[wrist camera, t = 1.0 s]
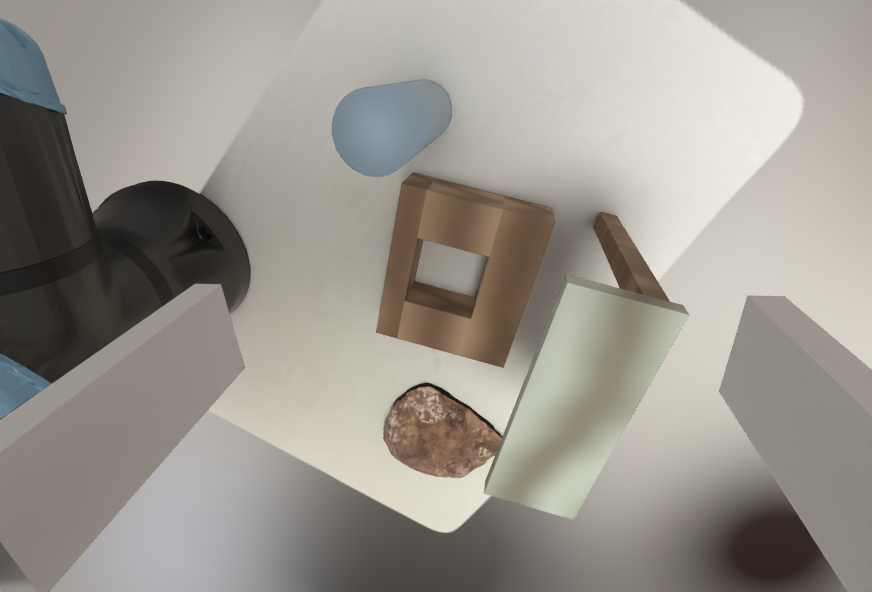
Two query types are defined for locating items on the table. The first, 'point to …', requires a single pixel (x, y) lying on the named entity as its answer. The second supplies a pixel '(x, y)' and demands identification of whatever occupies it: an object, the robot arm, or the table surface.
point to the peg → (389, 124)
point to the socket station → (560, 343)
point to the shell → (438, 433)
